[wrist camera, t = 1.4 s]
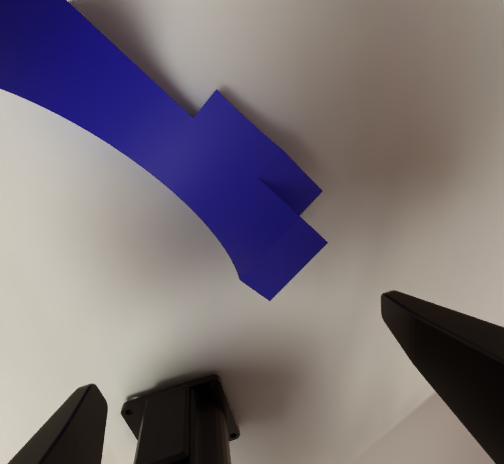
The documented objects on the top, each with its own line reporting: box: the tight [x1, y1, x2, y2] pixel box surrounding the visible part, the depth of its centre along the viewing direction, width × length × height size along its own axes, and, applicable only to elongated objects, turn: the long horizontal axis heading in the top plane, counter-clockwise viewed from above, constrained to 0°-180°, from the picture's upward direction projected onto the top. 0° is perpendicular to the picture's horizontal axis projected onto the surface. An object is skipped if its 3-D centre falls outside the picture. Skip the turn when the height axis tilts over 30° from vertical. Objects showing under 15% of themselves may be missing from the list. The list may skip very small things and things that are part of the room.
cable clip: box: [0, 0, 328, 301], centre depth 10 cm, size 12×4×6 cm, turn 47°
